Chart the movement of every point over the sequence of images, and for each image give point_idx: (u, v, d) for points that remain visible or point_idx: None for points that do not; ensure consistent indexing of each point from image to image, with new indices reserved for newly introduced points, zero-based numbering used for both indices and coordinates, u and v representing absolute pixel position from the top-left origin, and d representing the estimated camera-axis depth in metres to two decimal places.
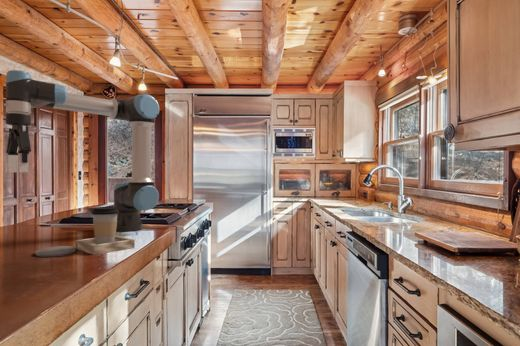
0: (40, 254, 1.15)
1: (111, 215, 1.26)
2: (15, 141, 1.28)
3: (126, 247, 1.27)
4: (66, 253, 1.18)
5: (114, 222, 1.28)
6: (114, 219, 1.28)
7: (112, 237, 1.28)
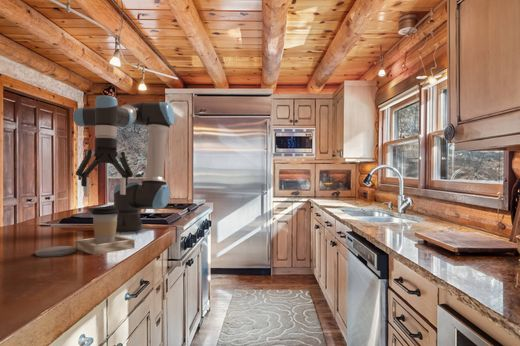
0: (40, 254, 1.15)
1: (111, 215, 1.26)
2: (114, 164, 1.31)
3: (126, 247, 1.27)
4: (66, 253, 1.18)
5: (114, 222, 1.28)
6: (114, 219, 1.28)
7: (112, 237, 1.28)
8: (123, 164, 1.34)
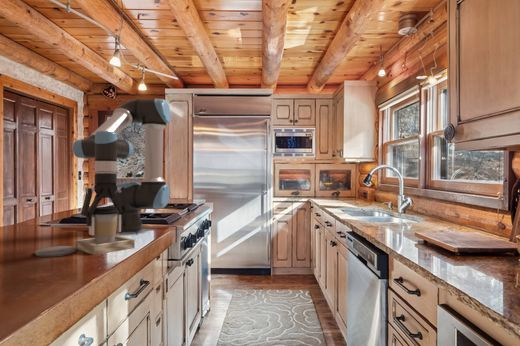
0: (40, 254, 1.15)
1: (111, 215, 1.26)
2: (112, 199, 1.31)
3: (126, 247, 1.27)
4: (66, 253, 1.18)
5: (114, 222, 1.28)
6: (114, 219, 1.28)
7: (112, 237, 1.28)
8: (121, 199, 1.33)
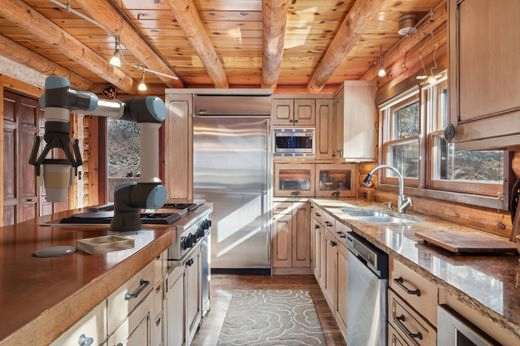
0: (40, 254, 1.15)
1: (62, 166, 1.18)
2: (64, 151, 1.23)
3: (126, 247, 1.27)
4: (66, 253, 1.18)
5: (66, 174, 1.20)
6: (66, 171, 1.20)
7: (64, 190, 1.20)
8: (75, 151, 1.25)
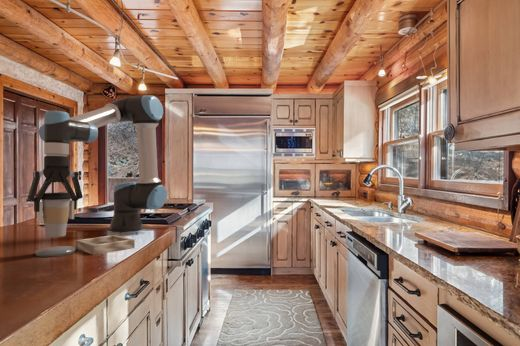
0: (40, 254, 1.15)
1: (61, 200, 1.18)
2: (64, 184, 1.23)
3: (126, 247, 1.27)
4: (66, 253, 1.18)
5: (65, 208, 1.20)
6: (65, 205, 1.20)
7: (63, 224, 1.20)
8: (74, 184, 1.25)
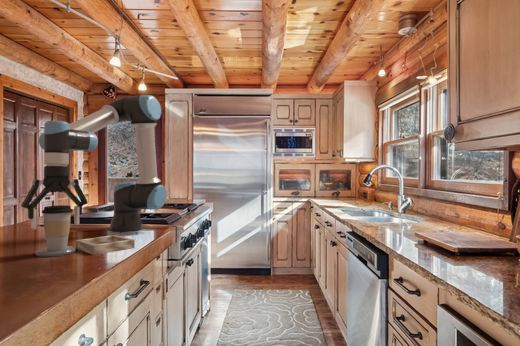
0: (40, 254, 1.15)
1: (62, 214, 1.19)
2: (66, 193, 1.23)
3: (126, 247, 1.27)
4: (66, 253, 1.18)
5: (66, 221, 1.20)
6: (66, 218, 1.20)
7: (64, 237, 1.20)
8: (77, 191, 1.26)
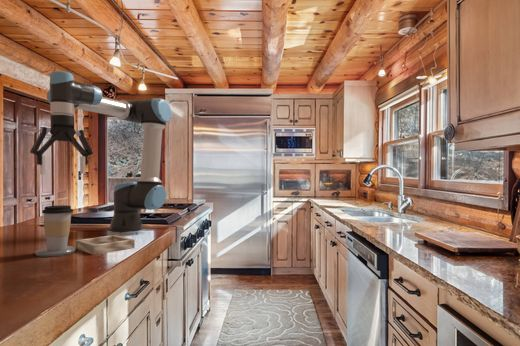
0: (40, 254, 1.15)
1: (63, 214, 1.19)
2: (72, 142, 1.28)
3: (126, 247, 1.27)
4: (66, 253, 1.18)
5: (66, 221, 1.20)
6: (66, 218, 1.20)
7: (64, 237, 1.20)
8: (82, 142, 1.31)
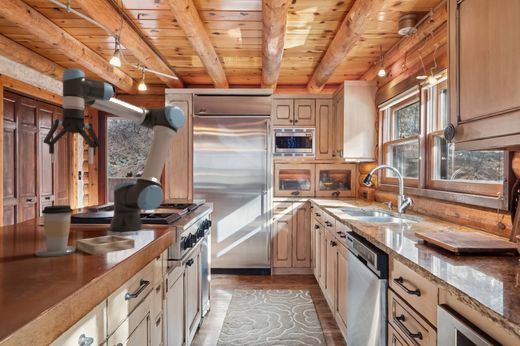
0: (40, 254, 1.15)
1: (62, 214, 1.19)
2: (82, 134, 1.39)
3: (126, 247, 1.27)
4: (66, 253, 1.18)
5: (66, 221, 1.20)
6: (66, 218, 1.20)
7: (64, 237, 1.20)
8: (91, 134, 1.41)
